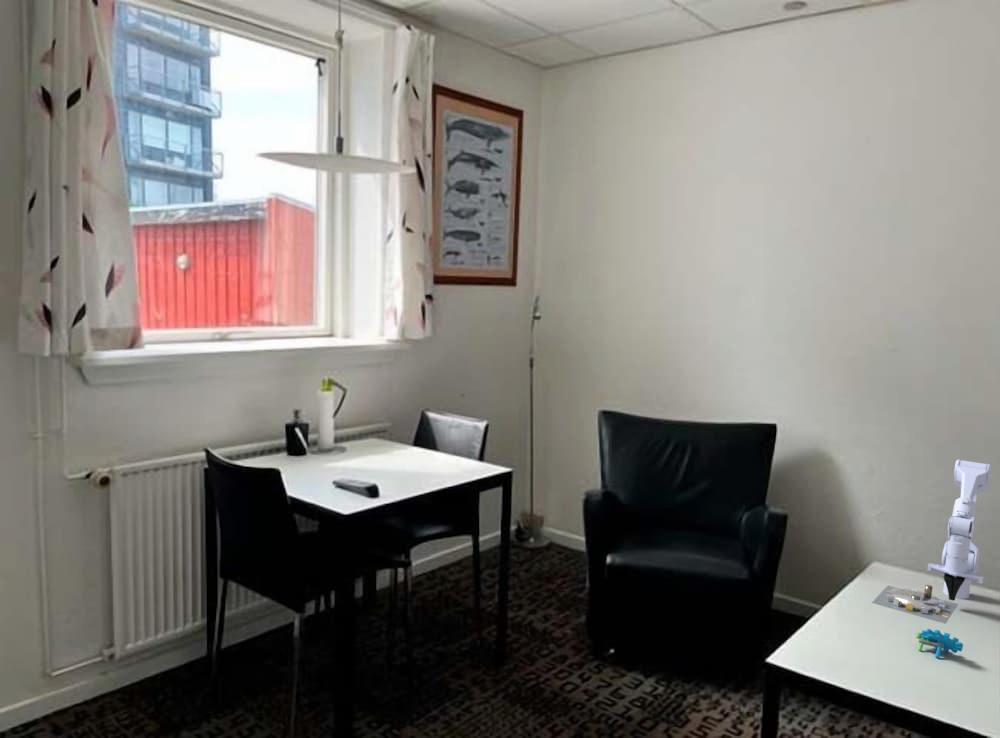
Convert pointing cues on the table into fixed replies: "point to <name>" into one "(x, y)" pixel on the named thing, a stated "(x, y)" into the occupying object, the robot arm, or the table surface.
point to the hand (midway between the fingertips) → (952, 599)
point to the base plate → (939, 617)
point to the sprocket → (916, 600)
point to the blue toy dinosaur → (938, 641)
